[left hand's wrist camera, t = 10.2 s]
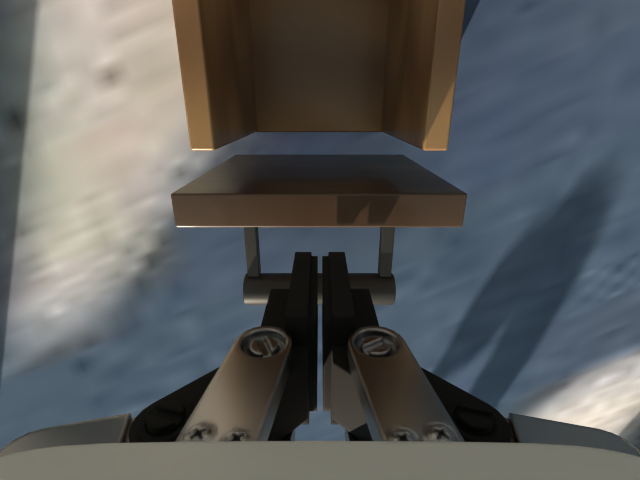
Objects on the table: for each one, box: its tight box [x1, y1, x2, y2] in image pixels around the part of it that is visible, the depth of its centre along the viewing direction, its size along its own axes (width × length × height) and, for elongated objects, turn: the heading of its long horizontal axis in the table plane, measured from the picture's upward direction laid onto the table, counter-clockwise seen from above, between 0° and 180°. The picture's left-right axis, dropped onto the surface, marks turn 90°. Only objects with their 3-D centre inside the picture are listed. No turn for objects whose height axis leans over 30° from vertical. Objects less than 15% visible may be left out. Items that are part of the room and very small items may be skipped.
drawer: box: [171, 0, 467, 305], centre depth 14 cm, size 26×10×10 cm, turn 0°
